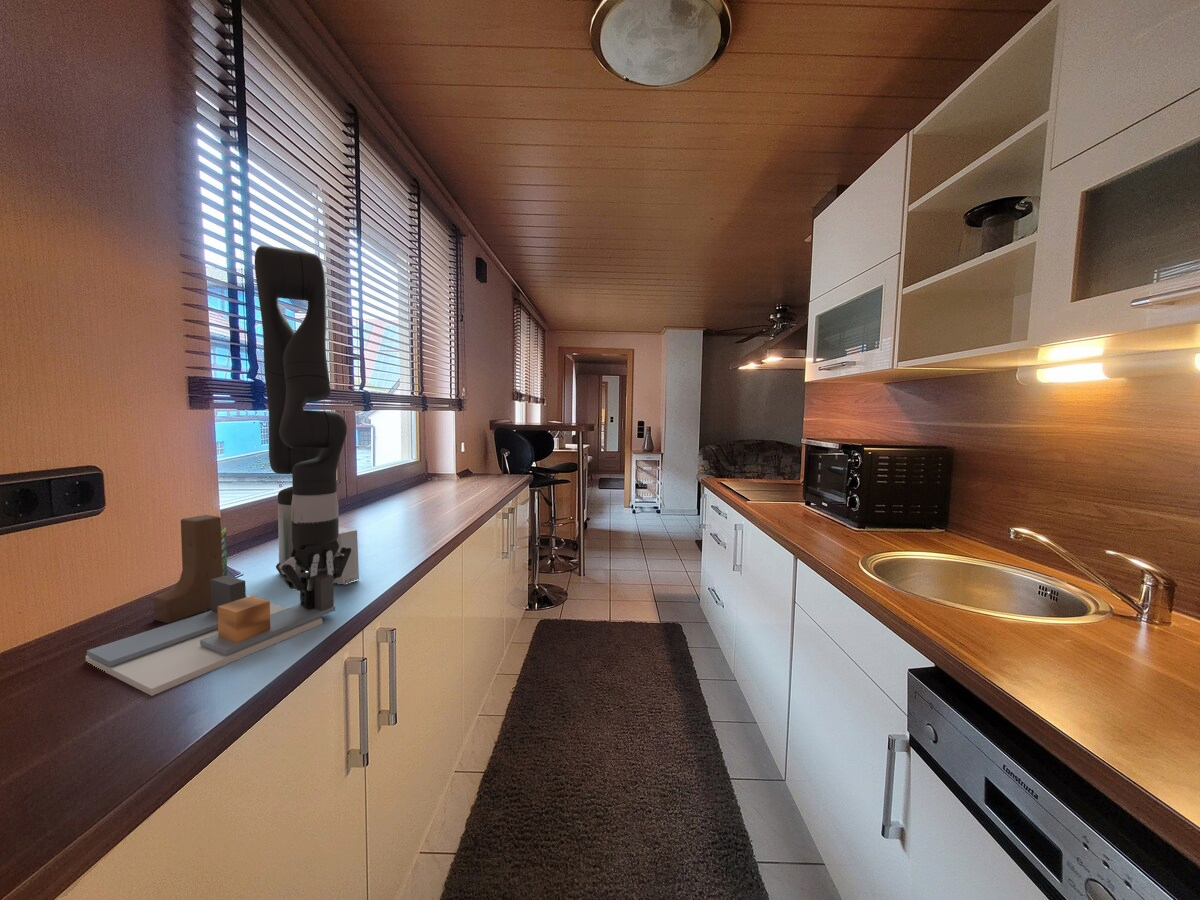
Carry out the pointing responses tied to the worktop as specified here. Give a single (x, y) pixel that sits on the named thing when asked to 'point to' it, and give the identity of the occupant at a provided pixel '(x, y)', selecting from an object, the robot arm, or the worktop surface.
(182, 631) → the strip empty
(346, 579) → the skincare box
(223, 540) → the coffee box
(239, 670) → the worktop surface
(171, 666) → the lane board
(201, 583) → the wooden block
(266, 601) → the cube
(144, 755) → the worktop surface
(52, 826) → the worktop surface
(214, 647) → the strip with cube
